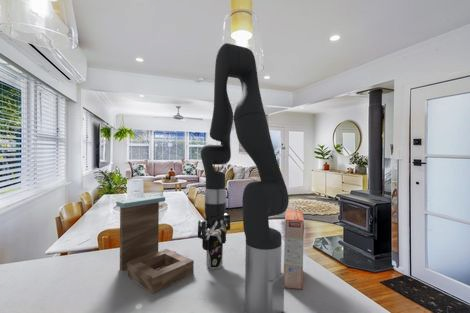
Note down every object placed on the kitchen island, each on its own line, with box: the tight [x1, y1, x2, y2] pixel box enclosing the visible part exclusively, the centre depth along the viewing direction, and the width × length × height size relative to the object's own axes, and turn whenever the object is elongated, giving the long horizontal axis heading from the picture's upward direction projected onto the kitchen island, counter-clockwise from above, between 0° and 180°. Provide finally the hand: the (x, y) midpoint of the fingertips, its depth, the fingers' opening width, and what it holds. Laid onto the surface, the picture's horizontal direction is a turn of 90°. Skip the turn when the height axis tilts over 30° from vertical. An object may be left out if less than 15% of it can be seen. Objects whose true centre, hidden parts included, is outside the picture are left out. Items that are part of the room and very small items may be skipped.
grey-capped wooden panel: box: [115, 195, 166, 272], centre depth 87 cm, size 5×16×24 cm, turn 141°
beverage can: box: [205, 230, 224, 270], centre depth 86 cm, size 6×6×12 cm
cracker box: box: [283, 209, 305, 290], centre depth 79 cm, size 14×6×21 cm, turn 167°
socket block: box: [126, 248, 195, 294], centre depth 79 cm, size 15×15×4 cm
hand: (214, 246), depth 86 cm, fingers open, 8 cm apart
